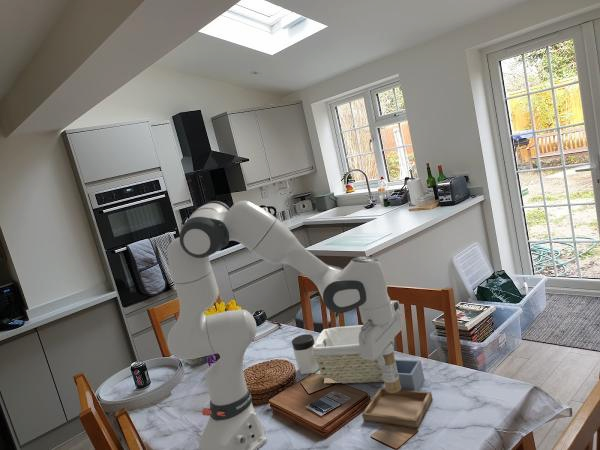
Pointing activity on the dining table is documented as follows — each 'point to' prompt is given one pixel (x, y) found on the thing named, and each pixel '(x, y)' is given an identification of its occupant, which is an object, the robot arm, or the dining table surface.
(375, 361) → the storage basket
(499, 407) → the dining table surface
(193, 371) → the dining table surface
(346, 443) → the dining table surface
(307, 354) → the jar
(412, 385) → the blue-grey square bin
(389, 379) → the sprinkles bottle
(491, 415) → the dining table surface
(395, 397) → the tray
